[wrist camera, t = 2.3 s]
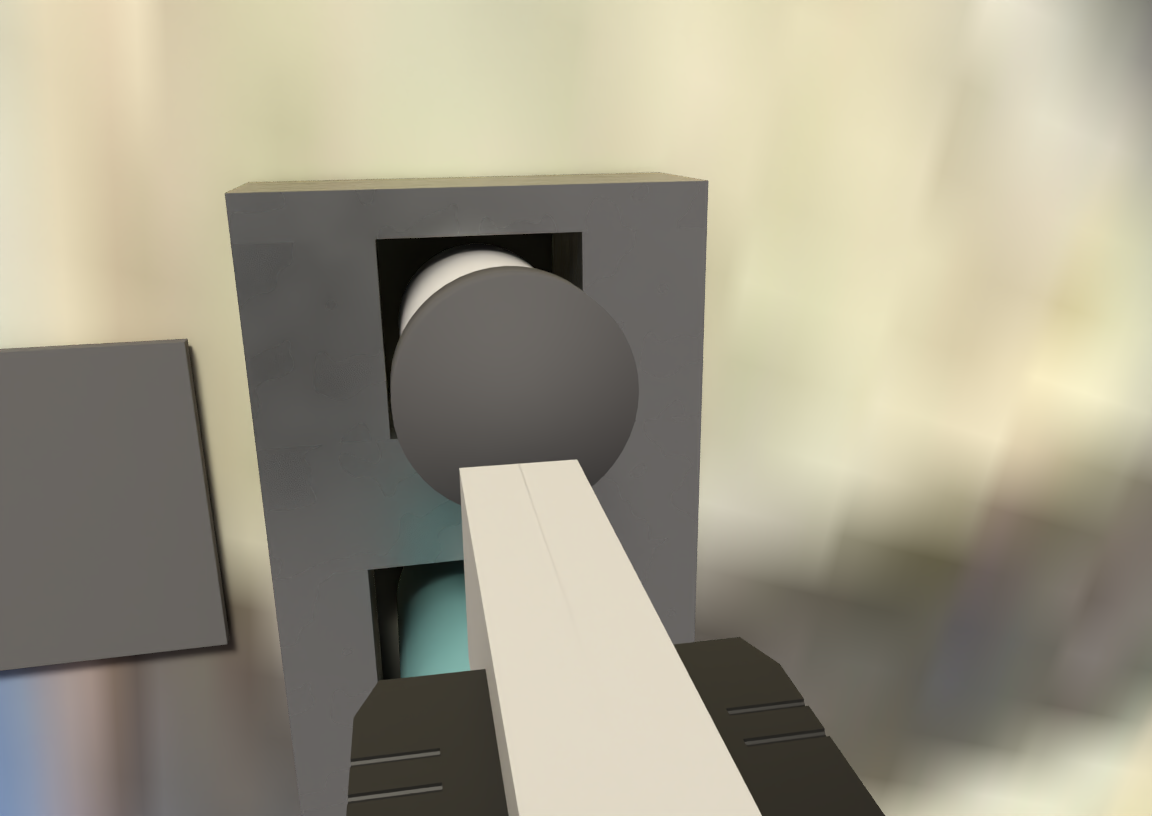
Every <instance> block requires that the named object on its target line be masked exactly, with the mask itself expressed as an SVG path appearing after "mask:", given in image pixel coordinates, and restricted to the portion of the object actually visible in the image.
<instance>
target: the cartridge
mask: <svg viewBox="0 0 1152 816" xmlns="http://www.w3.org/2000/svg"><path fill="white" fill-rule="evenodd" d="M397 613H398V633H399V653H400V674H401V678H407V677H416V676H425V675H434V674H443V673H453V672H462V671H470V664H469V655H468V634H467V614H466V594H465V574H464V560H457V561H447V562H438V563H428V564H418V565H409V566H404V568H403V570H402V572H401V576H400V579H399V582H398V589H397Z"/></svg>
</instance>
